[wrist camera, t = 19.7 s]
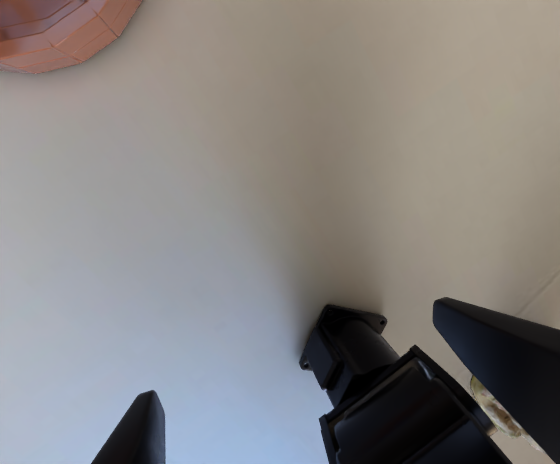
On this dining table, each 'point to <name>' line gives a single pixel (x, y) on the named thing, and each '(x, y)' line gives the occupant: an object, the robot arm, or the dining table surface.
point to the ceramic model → (499, 414)
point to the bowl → (58, 31)
